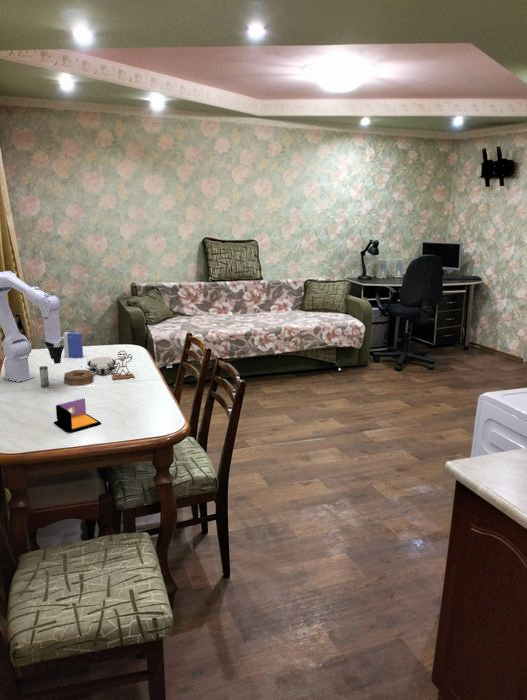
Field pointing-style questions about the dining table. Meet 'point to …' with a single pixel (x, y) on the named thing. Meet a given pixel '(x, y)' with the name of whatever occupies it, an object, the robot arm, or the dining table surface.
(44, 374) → the metal cylinder
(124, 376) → the cartoon figure standee
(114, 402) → the dining table surface
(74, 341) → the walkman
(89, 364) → the robot toy
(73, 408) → the dollhouse room
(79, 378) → the walnut bead
